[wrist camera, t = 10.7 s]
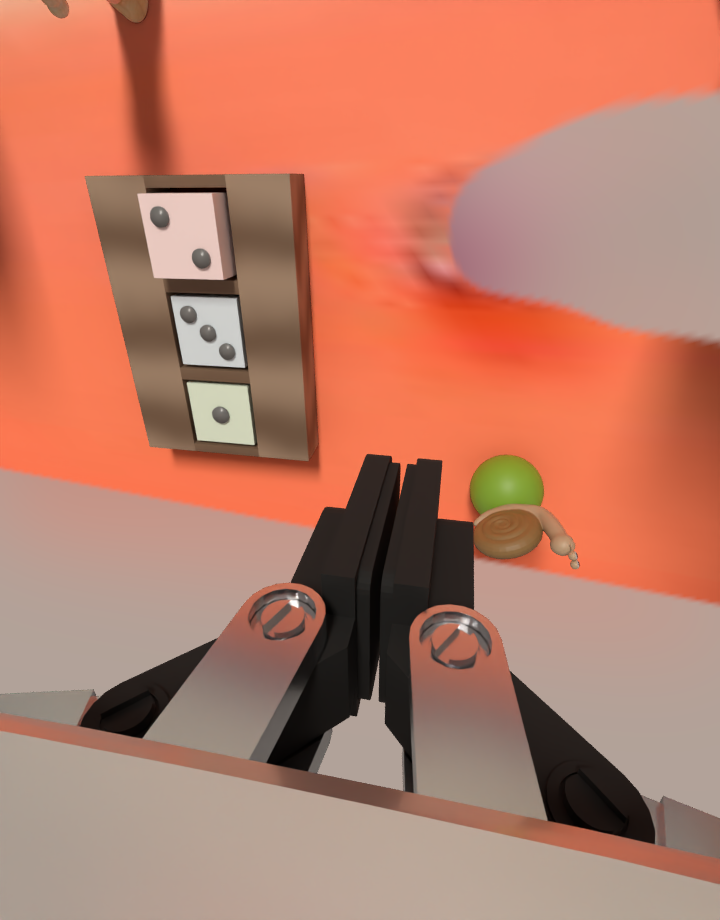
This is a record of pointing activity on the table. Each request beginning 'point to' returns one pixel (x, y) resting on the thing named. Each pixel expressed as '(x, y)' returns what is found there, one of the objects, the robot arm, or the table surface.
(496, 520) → the snail figurine
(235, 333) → the three dot tile
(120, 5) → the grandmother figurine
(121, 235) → the counting board
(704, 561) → the table surface
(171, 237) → the two dot tile
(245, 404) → the cream knobbed tile
